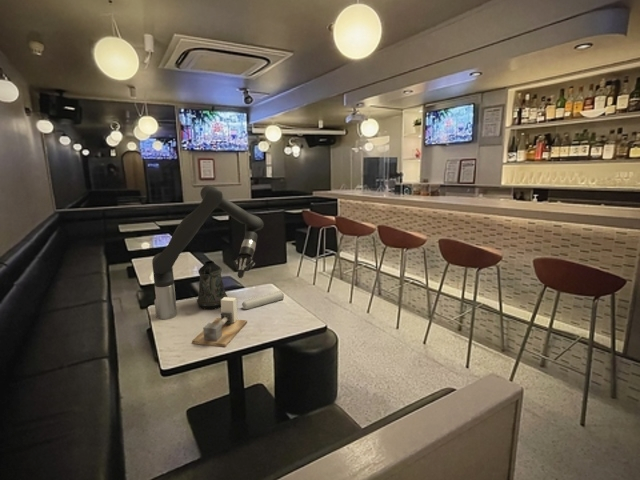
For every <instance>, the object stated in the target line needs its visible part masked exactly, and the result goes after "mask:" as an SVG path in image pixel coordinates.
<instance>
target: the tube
mask: <svg viewBox="0 0 640 480" xmlns="http://www.w3.org/2000/svg"><path fill="white" fill-rule="evenodd" d="M284 294H285V293H284V292H283V291H282V290H279V291H276V292H272V293H267V294H264V295H260V296H256V297H254V298H253V297H252V298H248V299H245V300H243V302H242V303H241V306H242V309H244V310H246V311H247V310H250V309H253V308H257V307H261V306H264V305H268V304H271V303H275V302H278V300H279V301H283V300H284V298H285V295H284Z"/></svg>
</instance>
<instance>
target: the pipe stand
mask: <svg viewBox="0 0 640 480" xmlns="http://www.w3.org/2000/svg"><path fill="white" fill-rule="evenodd" d="M228 320H229V316H225V317H224V318H223V319H222V320H221V317H217V318H215V319H214V320H213V321H212V322H208V323H207V324H206V325H204V326H203V327H202V328H203V330H202V331H201V332H200V333H199V334H198V335H197V336H196V337H194V338H193V339H192V341H191V343H192V344H196V345H197V344H199V345H206V346H215V347H216V346H218V347H224V348H225V347H227V346H228V345H229V344H230V343H231V342H232V341H233V339H234V338H235V337H236V336H237V335H238V334H239V333H240V332H241V330H243V328H244V327H245V326H246V325H247V324H248V320H243V319H237V320H236V321H235V322H232V324H225V323H226V322H227V321H228Z"/></svg>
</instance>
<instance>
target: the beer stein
mask: <svg viewBox="0 0 640 480" xmlns="http://www.w3.org/2000/svg"><path fill="white" fill-rule="evenodd" d="M197 272H198V274H199V286H198V296H197V298H196V303H197V307H198V308H199V309H200V310H207V311H209V310H210V311H212V310H218V309H221V299H223V298H224V297H228V295H227V292H226V290H225V287H224V282H223V278H222V267H221V266H219V265H218V264H216V263H215V262H214V260H208V261H207V260H206V261H205V262H204V264H203V265H202V266H201V267H200V268H198V271H197Z"/></svg>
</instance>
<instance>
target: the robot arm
mask: <svg viewBox="0 0 640 480" xmlns="http://www.w3.org/2000/svg"><path fill="white" fill-rule="evenodd" d="M200 197H201V202H200V203H199V205H198V206H197V207H196V208H195V209H194V210H193V211H192V212H191V213H189V214H187V215H186V216H185V217H184V218H183V219H182V220H181V221H180V222H179V223H178V225H177V227H176V229H175V230H174V232H173V234H172V236H171V238H170V240H169V242H168V244H167V245H166V247H165V248H164V250H162V252H159V253H157V254H155V255H154V256H153V257H152V261H151V263H152V264H151V266H152V273H153V274H152V275H153V283H154V293H155V299H154V302H153V303H154V310H155V317H156V318H158V319H159V320H169V319H172V318H174V317H176V316H177V315H178V312H177V311H178V310H177V300H176V291H175V289H176V288H175V277H174V269H173V268H174V267H173V266H174V265H175V263H176V261H177V260H178V257H179V256H180V255H181V253H182V252H183V251H184V250H185V249H186V247H187V246H188V245H189V244H190V242H191V241H192V240H193V238H194V237H195V236H196V234H197V233H198V232H199V230H200V229H201V227H202V226H203V225H204V223H205V222H206V221H207V219H208V218H209V216H210V215H211V213H213V212H214V211H215V209H216V208H219V209H220V210H221V211H223V212H224V213H226V214H227V215H229V216H230V217H231V218H233V219H234V220H235V221H237V222H239V223H240V224H242V225H244V237H243V241H242V243H241V247H240V251H239V253H238V257H237V258H236V259H235V260H234V259H233V260H232V264H233V265H234V268H235V269H236V270H237V277H238V279H243V277H244V275H245V272H249V271H250V270H252V268H253V267H255V266H256V262H255V261H254V260H253V258H254V254H255V251H256V246H257V241H258V234H257V233H256V232H257V231H260V230H262V229H263V228H264V221H263V219H261V218H260V217H259V216H257V215H255V214H252V213H249V212H248V211H246V210H245V209H243V208H241V207H240V206H238V205H237V204H235V203H234V202H232V201H230V200H229V199H228V198H226V197H225V196H224V195H223V192H222V190H221V189H219V188H217V187H215V185H214V186H213V185H209V184H207V185H205V186H203V187H202V189H200Z"/></svg>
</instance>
